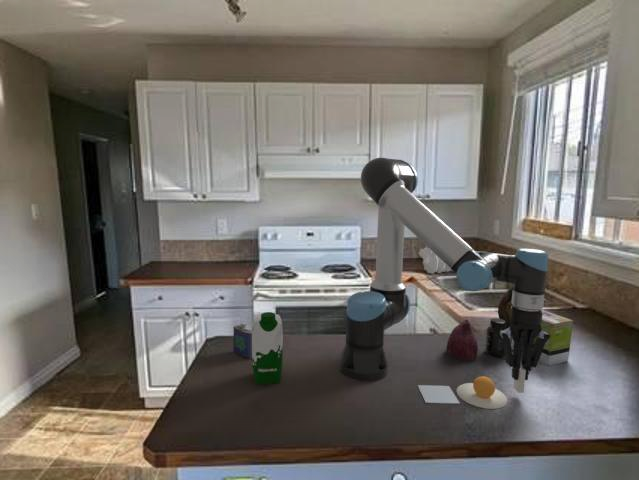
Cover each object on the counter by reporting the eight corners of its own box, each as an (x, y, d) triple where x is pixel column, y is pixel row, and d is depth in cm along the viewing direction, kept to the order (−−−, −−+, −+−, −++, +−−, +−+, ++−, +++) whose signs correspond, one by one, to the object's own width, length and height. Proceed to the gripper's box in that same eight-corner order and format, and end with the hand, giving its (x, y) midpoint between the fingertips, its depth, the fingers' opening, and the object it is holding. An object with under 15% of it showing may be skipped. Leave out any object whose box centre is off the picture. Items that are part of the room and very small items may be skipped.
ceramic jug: (537, 341, 148) (546, 263, 144) (493, 332, 156) (500, 258, 152) (540, 328, 162) (548, 256, 158) (499, 320, 170) (506, 252, 166)
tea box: (509, 348, 141) (513, 308, 139) (529, 344, 145) (533, 305, 143) (548, 366, 128) (553, 322, 126) (569, 361, 132) (574, 319, 130)
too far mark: (425, 403, 104) (425, 402, 104) (417, 385, 113) (417, 385, 113) (459, 403, 104) (459, 403, 104) (448, 386, 113) (448, 385, 113)
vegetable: (477, 370, 131) (490, 333, 125) (445, 363, 133) (456, 326, 127) (473, 350, 140) (485, 315, 134) (443, 344, 142) (453, 308, 136)
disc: (466, 408, 102) (466, 407, 102) (450, 383, 115) (450, 382, 115) (516, 409, 102) (516, 408, 102) (494, 384, 115) (494, 383, 115)
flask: (255, 357, 129) (255, 326, 127) (248, 360, 127) (248, 328, 125) (237, 349, 135) (237, 319, 133) (230, 352, 132) (230, 321, 131)
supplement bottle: (480, 349, 140) (483, 317, 138) (499, 349, 140) (502, 316, 139) (490, 358, 133) (494, 324, 131) (510, 357, 134) (513, 323, 132)
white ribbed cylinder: (456, 278, 265) (428, 279, 254) (441, 262, 278) (413, 263, 267) (469, 256, 256) (440, 256, 245) (451, 240, 269) (423, 240, 258)
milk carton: (252, 386, 111) (252, 318, 108) (251, 371, 119) (251, 307, 116) (283, 384, 112) (284, 316, 110) (280, 369, 121) (280, 306, 118)
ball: (489, 378, 105) (503, 391, 106) (479, 368, 110) (492, 381, 111) (474, 392, 105) (488, 405, 106) (465, 382, 111) (479, 395, 111)
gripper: (509, 311, 102) (500, 396, 105) (559, 312, 101) (549, 398, 105) (496, 302, 109) (488, 382, 112) (543, 303, 109) (534, 383, 112)
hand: (518, 390), depth 109 cm, fingers closed
